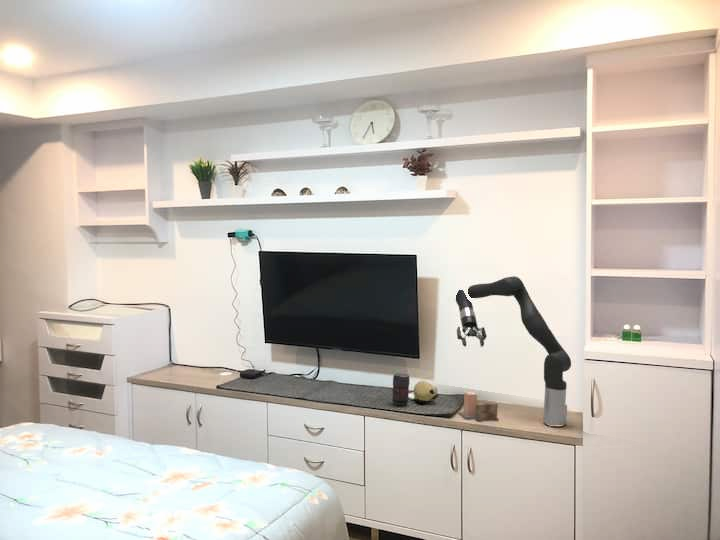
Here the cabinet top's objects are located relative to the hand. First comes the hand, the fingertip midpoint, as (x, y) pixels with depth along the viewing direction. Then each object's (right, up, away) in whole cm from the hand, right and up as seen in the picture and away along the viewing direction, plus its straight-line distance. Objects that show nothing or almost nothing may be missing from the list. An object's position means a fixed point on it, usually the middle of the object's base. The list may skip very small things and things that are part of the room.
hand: (473, 345), depth 291 cm
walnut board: (+3, -32, -16) cm, 36 cm away
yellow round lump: (-23, -30, +8) cm, 38 cm away
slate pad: (-4, -32, -12) cm, 34 cm away
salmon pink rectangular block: (-4, -31, -12) cm, 33 cm away
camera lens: (-36, -30, +2) cm, 47 cm away
